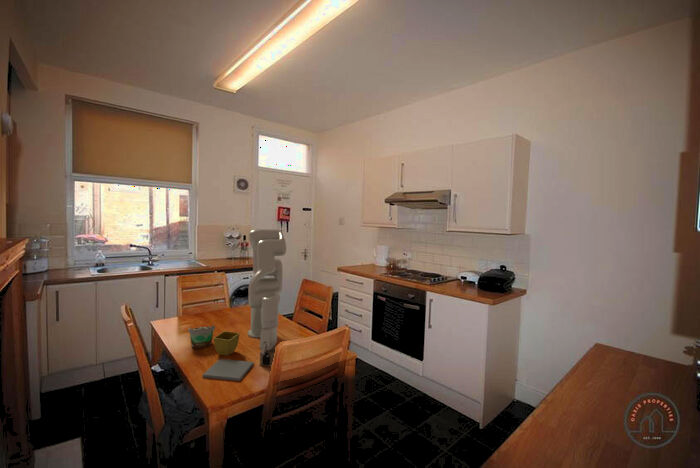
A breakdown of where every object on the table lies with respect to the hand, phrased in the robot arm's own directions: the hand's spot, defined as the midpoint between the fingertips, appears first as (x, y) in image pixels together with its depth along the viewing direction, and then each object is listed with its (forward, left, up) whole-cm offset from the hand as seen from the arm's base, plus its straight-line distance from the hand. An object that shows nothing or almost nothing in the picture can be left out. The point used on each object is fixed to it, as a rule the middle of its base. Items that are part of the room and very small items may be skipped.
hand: (268, 360), depth 145 cm
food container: (-9, -38, -1) cm, 39 cm away
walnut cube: (0, 0, -1) cm, 1 cm away
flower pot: (-5, -23, -1) cm, 24 cm away
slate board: (+10, -14, -1) cm, 17 cm away
